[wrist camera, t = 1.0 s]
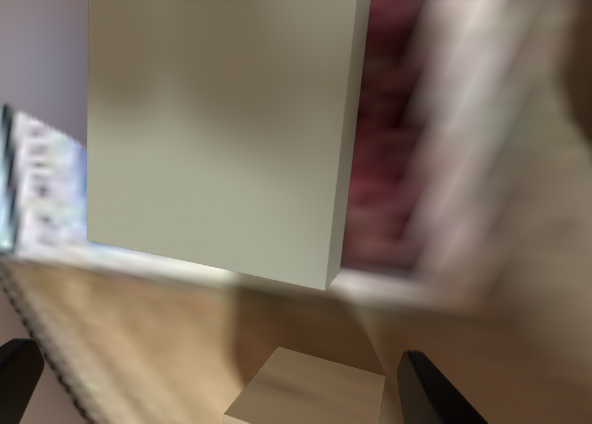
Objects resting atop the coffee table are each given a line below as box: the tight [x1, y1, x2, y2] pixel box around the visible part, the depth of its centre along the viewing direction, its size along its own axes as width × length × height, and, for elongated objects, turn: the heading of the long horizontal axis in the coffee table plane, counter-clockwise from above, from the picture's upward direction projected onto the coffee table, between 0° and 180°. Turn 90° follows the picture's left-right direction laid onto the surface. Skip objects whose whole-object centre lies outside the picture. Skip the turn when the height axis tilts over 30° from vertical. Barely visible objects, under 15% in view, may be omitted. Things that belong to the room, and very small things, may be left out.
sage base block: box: [87, 0, 371, 291], centre depth 18 cm, size 14×14×3 cm
